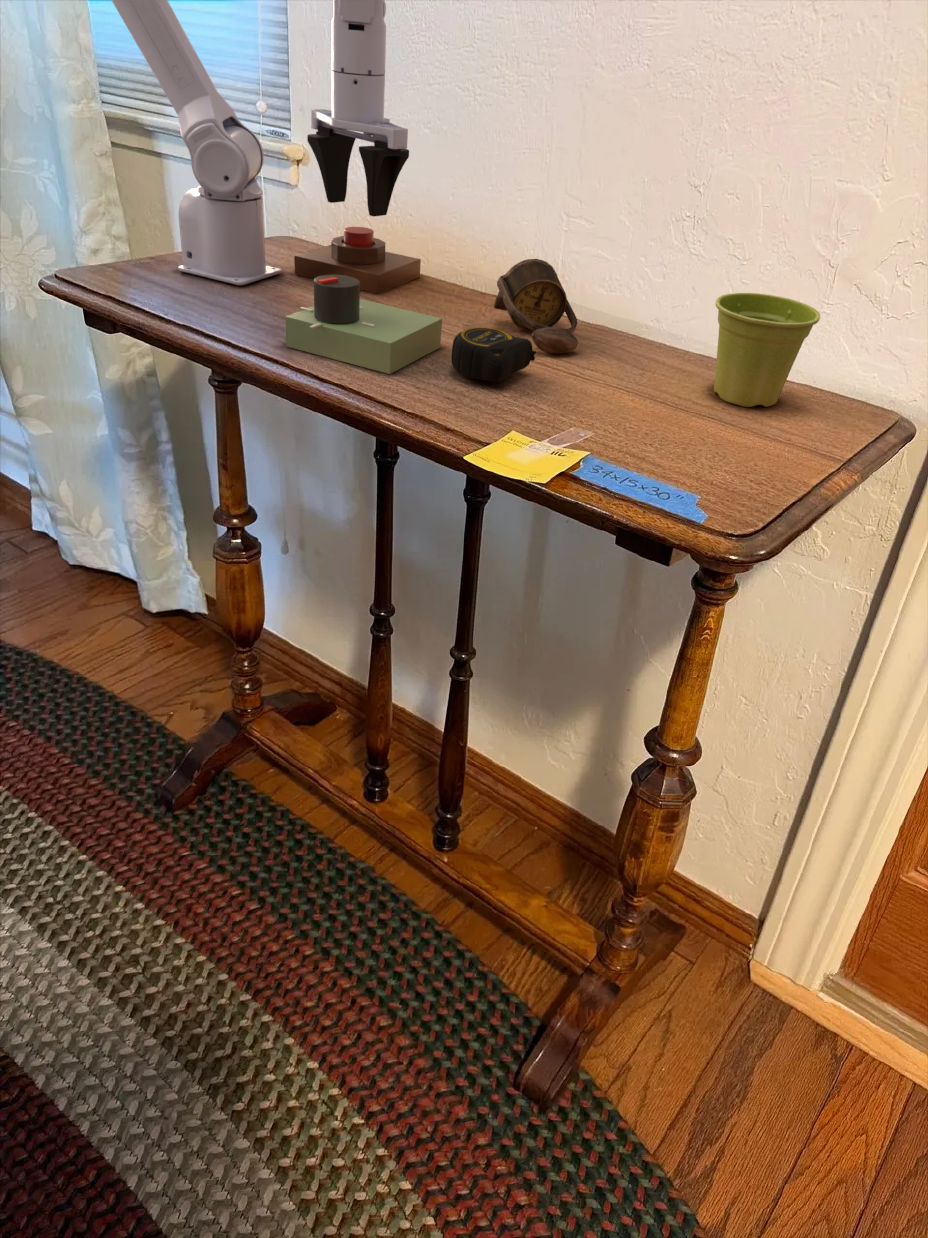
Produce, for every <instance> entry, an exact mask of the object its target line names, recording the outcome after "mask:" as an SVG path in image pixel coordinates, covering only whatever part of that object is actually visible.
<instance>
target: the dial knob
mask: <svg viewBox="0 0 928 1238" xmlns="http://www.w3.org/2000/svg"><path fill="white" fill-rule="evenodd" d="M360 299H361V290H360V281H359V280H358V279H356V278H353V277H350V276H345V275H322V276H318V277H316V278H315V279H313V306H314V316H315V318H316V319H317V320H319V321H322V322H326V323H332V324H348V323H353V322H356V321H358V320H359V314H360Z"/></svg>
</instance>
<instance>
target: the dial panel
mask: <svg viewBox="0 0 928 1238" xmlns="http://www.w3.org/2000/svg"><path fill="white" fill-rule="evenodd" d="M284 319H285V345H286V348H290V349H294V350H297V351H302V352H304V353H305V352H306V353H309V354H312V355H317V356H320V357H324V358H328V359H332V360H335V361H339V362H342V363H346V364H350V365H353V366H358V367H361V368H365V369H369V370H373V371H377V372H380V373H384V374H387V375H391V374H394V372H397V371H399V370H401V369H402V368H405V367H406V366H408V365H410V364H412V363H413V362H416V361H418V360H420V359H421V358H423V357H425V356H427V355H429V354H431V353H433V352H435V351H436V350H438V349H440V348H441V344H442V343H441V341H442V326H443V318H442V317H438V316H433V315H429V314H425V313H421V312H416V311H412V310H408V309H404V308H399V307H395V306H392V305H387V304H383V303H380V302H379V303H378V302H375V301H371V300H366V299H362V298H360V314H359V320H358V321H356V322H353V323H348V324H332V323H326V322H322V321H319V320H317V319H316V318H315V316H314V305H312V306H309V307H304V306H301V307H299V311H296V312H293V313H291V314H289V315H286V316H285V317H284Z"/></svg>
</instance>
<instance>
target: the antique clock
mask: <svg viewBox="0 0 928 1238" xmlns="http://www.w3.org/2000/svg"><path fill="white" fill-rule="evenodd" d="M496 286H497V289H498V293H497V295H496V297H495V300H494V303H493V308H494V309H496V310H501V311H502V310H503V311H506V312H508V315H509V318H510V320H511V321H512V323H513V324H514V326H515V327H516V328H518V329H520V330H522V331H523V332H530V333H531V336H530V337H531V339H532V342H533V343H534V345H535V346H536V347H537V348H538V349H539V350H541V351H543V352H544V353H545V352H546V353H548V354H565V353H569V352H572V351H574V350H575V349H576V348H577V347H578V345H579V341H578V339H577V337H576V336H575V335H574V333H575V331H576V330H577V326H578V318H577V316H576V313H575V312H574V309H573V307H572V305H571V304H570V302H569V300H568V298H567V293H566V291H565V289H564V287H563V285H562V283H561V280H560V279H559V277H558V274H557V272H556V270H555V267H553V265H551V264H550V263H549V262H548V261H546V260H543V259H539V258H528V259H523V260H521V261H519V262H517V263H516V264H514V265H512V266H511V268H510V269H508V270H507V272H506V273H505V274H502V275H500V276H499V277H498V279H497V282H496ZM564 314H565V315H566V318H567V320H568V322H569V323H570V327H568V328H563V327H559V326H555V325H556V324H557V323H558V322H559V321H560V320H561V319H562V317H563V315H564Z"/></svg>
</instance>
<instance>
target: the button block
mask: <svg viewBox="0 0 928 1238" xmlns="http://www.w3.org/2000/svg"><path fill="white" fill-rule="evenodd" d="M330 242H331V243H330V244H329V245H326V246H322V247H319V248H315V249H311V250H309V251H305V252H302V253H299V254H295V255H294V257H293V259H294V260H293V262H294V275H297V276H300V277H306V278H309V279H313V280H314V279H315V278H316V277H318V276H322V275H345V276H350V277H353V278H356V279H358V280H359V281H360V291H364V292H370V293H373V294H381V293H384V292H385V291H388V290H390V289H393V288H396V287H398V286H401V285H404V284H407V283H408V282H411V281H413V280H416V279H418V278H420V277H421V262H422V260H421V258H417V257H414V256H413V257H412V256H407V255H404V254H398V253H394V252H390V251H386V244H387V243H386V242H385V241H384V240H382V239H379V238H376V237H374V244H373V245H372V246H352V245H347V244H344V235H341V236H336V237H333V238H332V239H331V241H330Z"/></svg>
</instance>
